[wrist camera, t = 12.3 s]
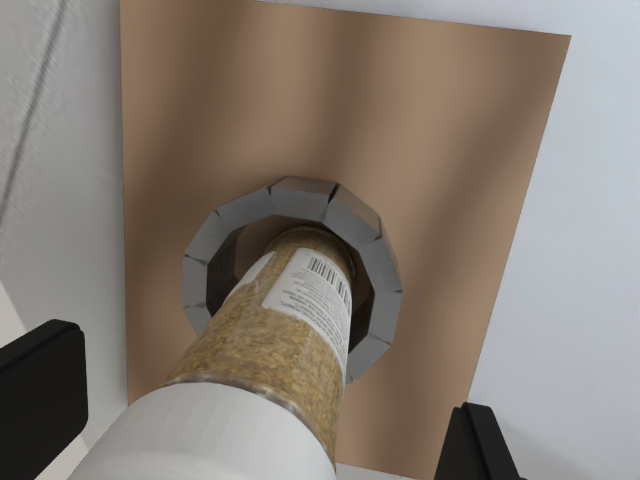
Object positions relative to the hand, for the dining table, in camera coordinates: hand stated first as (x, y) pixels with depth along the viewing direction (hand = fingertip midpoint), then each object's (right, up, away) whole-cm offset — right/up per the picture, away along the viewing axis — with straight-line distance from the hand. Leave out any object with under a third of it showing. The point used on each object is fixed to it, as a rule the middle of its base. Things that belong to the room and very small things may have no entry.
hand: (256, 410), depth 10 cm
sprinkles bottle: (+1, +3, +9) cm, 10 cm away
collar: (+1, +3, +9) cm, 9 cm away
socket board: (+1, +3, +10) cm, 11 cm away
